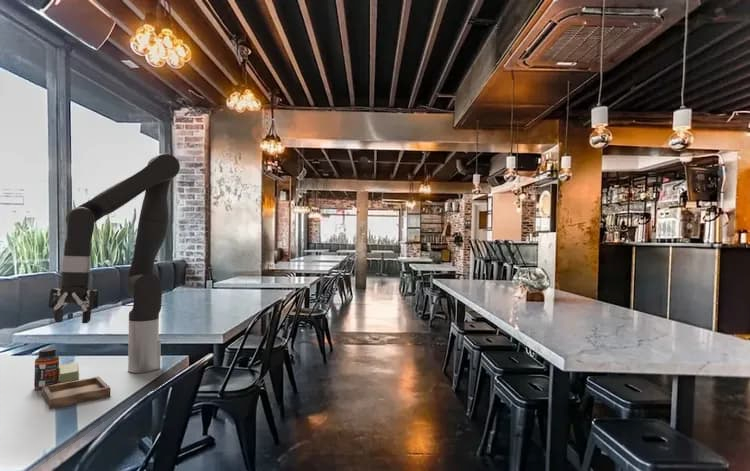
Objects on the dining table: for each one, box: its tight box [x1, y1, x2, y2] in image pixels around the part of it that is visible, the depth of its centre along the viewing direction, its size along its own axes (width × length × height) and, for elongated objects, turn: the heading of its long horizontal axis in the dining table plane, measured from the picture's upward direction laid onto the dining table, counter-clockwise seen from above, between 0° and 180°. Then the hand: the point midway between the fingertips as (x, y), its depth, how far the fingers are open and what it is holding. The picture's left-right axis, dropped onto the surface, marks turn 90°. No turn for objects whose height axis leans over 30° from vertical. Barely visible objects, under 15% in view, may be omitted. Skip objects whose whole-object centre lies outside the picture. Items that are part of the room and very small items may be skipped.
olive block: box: [59, 362, 80, 383], centre depth 137 cm, size 4×4×4 cm
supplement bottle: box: [33, 347, 60, 391], centre depth 134 cm, size 6×6×11 cm
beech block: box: [59, 362, 74, 381], centre depth 144 cm, size 5×4×4 cm
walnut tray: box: [41, 376, 111, 410], centre depth 127 cm, size 14×14×2 cm
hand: (72, 322), depth 139 cm, fingers open, 8 cm apart
